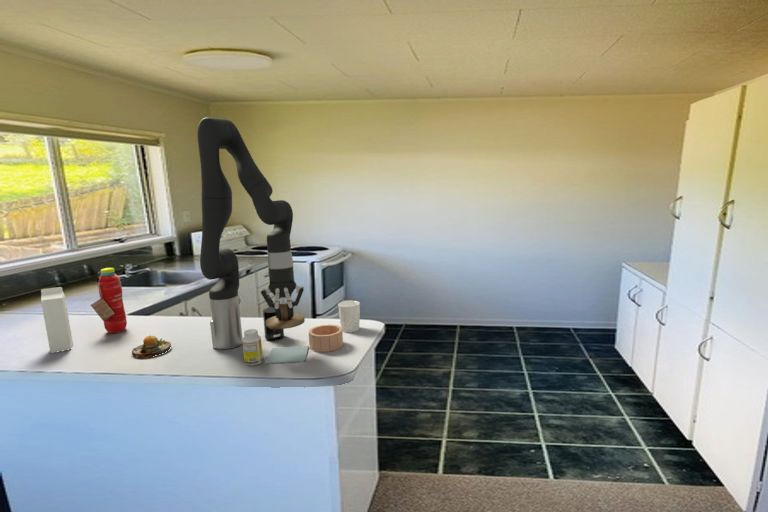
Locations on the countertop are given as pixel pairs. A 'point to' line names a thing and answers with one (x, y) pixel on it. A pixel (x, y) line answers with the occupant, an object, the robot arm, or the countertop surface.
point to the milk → (56, 319)
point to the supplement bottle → (252, 347)
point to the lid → (285, 319)
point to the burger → (151, 347)
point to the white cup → (349, 315)
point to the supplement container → (269, 332)
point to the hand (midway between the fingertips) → (285, 318)
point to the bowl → (325, 338)
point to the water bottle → (110, 302)
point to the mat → (287, 355)
